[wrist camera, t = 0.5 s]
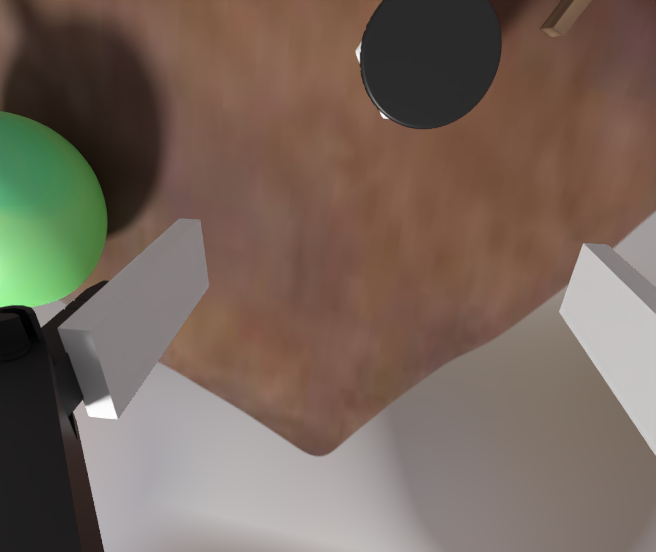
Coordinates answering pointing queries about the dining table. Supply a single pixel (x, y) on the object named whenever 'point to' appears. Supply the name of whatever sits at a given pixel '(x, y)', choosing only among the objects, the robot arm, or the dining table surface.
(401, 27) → the jar
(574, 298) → the robot arm
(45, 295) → the toy bird
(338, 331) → the dining table surface
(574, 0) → the box
